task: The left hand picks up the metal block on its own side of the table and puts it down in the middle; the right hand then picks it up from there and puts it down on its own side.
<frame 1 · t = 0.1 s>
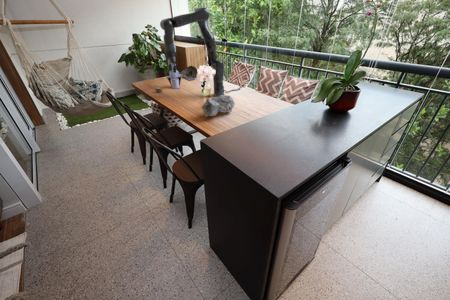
left hand: (175, 85, 199), 10 cm above the table, tool pointing down, fingers open, 7 cm apart
right hand: (172, 71, 167), 29 cm above the table, tool pointing down, fingers open, 8 cm apart
rock: (219, 113, 167), on the table
block: (159, 92, 214), on the table
bark piece: (188, 77, 262), on the table
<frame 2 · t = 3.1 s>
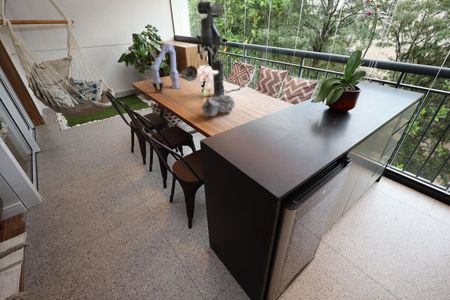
left hand: (158, 90, 213), 1 cm above the table, tool pointing down, fingers closed on block, 4 cm apart
right hand: (207, 59, 155), 39 cm above the table, tool pointing down, fingers open, 8 cm apart
block: (159, 92, 214), on the table, touching left hand
everything else where it was.
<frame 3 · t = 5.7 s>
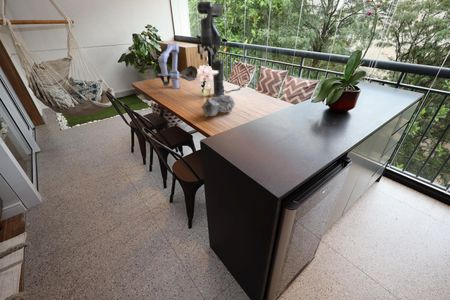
left hand: (166, 83, 207), 9 cm above the table, tool pointing down, fingers closed on block, 4 cm apart
right hand: (207, 59, 155), 39 cm above the table, tool pointing down, fingers open, 8 cm apart
block: (166, 84, 208), point 8 cm above the table, touching left hand
everything else where it was.
when the left hand's fingers open (2 cm above the table, at t = 8.4 s): block stays where it is, on the table.
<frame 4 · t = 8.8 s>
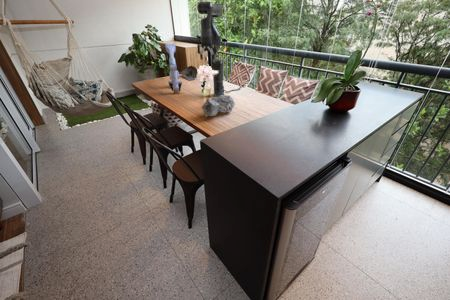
left hand: (176, 90, 210), 2 cm above the table, tool pointing down, fingers open, 7 cm apart
right hand: (207, 59, 155), 39 cm above the table, tool pointing down, fingers open, 8 cm apart
block: (176, 93, 211), on the table
everything else where it was.
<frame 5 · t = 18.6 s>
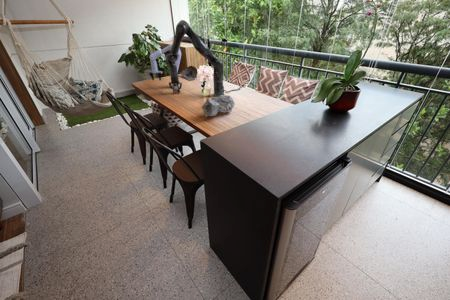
left hand: (156, 80, 217), 9 cm above the table, tool pointing down, fingers open, 7 cm apart
right hand: (176, 92, 211), 1 cm above the table, tool pointing down, fingers closed on block, 4 cm apart
block: (176, 93, 211), on the table, touching right hand
everything else where it was.
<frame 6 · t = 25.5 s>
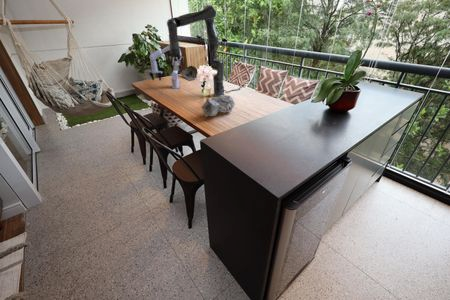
left hand: (156, 80, 217), 9 cm above the table, tool pointing down, fingers open, 7 cm apart
right hand: (177, 69, 175), 29 cm above the table, tool pointing down, fingers closed on block, 4 cm apart
block: (177, 70, 176), point 28 cm above the table, touching right hand
everything else where it was.
when the right hand's fingers open (1 cm above the table, at t = 32.7 s): block stays where it is, on the table.
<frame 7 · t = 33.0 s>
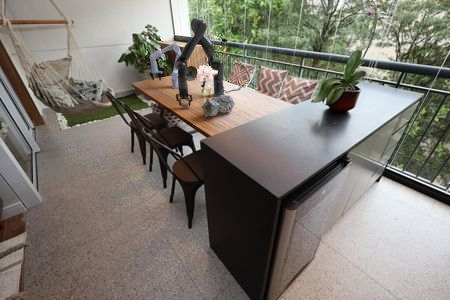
left hand: (156, 80, 217), 9 cm above the table, tool pointing down, fingers open, 7 cm apart
right hand: (185, 105, 176), 2 cm above the table, tool pointing down, fingers open, 7 cm apart
block: (185, 108, 178), on the table
everything else where it was.
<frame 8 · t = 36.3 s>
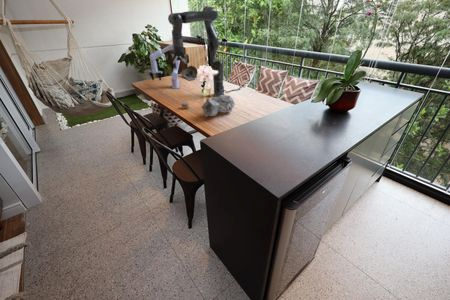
left hand: (156, 80, 217), 9 cm above the table, tool pointing down, fingers open, 7 cm apart
right hand: (180, 68, 159), 33 cm above the table, tool pointing down, fingers open, 8 cm apart
nothing on the table moved.
at the end: block inside the target area (0.1 cm from its centre), on the table; block tilted 0°; the two hands never held the block at the same time; the left hand is holding nothing; the right hand is holding nothing; block at rest at the end (0.0 cm/s) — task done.
